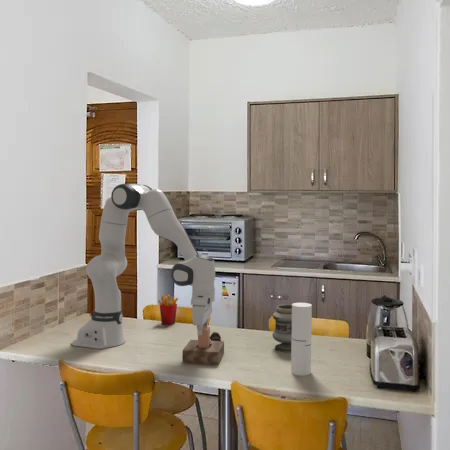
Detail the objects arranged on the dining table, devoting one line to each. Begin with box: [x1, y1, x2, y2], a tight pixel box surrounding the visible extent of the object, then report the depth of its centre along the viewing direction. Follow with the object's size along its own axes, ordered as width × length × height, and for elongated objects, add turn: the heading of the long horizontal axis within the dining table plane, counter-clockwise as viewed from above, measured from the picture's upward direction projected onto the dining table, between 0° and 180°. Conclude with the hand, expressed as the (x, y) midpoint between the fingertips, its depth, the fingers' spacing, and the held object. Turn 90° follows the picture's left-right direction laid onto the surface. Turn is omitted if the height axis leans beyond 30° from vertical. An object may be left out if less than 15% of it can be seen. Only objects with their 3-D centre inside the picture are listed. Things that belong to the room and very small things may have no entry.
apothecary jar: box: [272, 303, 292, 353], centre depth 208 cm, size 12×12×18 cm
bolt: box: [210, 331, 222, 341], centre depth 213 cm, size 6×5×15 cm
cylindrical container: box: [290, 302, 313, 377], centre depth 180 cm, size 7×7×25 cm
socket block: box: [181, 339, 225, 366], centre depth 195 cm, size 14×14×5 cm
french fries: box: [157, 294, 179, 327], centre depth 244 cm, size 9×8×15 cm
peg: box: [197, 326, 211, 348], centre depth 195 cm, size 4×4×12 cm
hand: (202, 330), depth 195 cm, fingers open, 8 cm apart
